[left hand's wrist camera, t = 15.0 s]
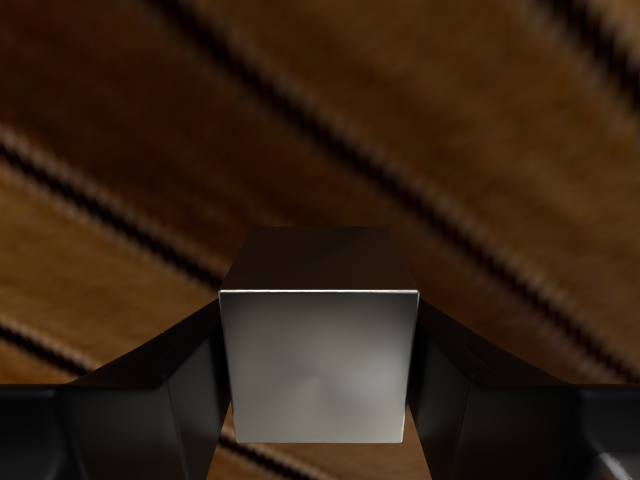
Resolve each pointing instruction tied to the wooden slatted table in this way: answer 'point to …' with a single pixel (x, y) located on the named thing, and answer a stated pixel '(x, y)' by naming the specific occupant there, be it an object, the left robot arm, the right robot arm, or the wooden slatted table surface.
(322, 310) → the block
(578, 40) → the wooden slatted table surface
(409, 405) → the left robot arm
